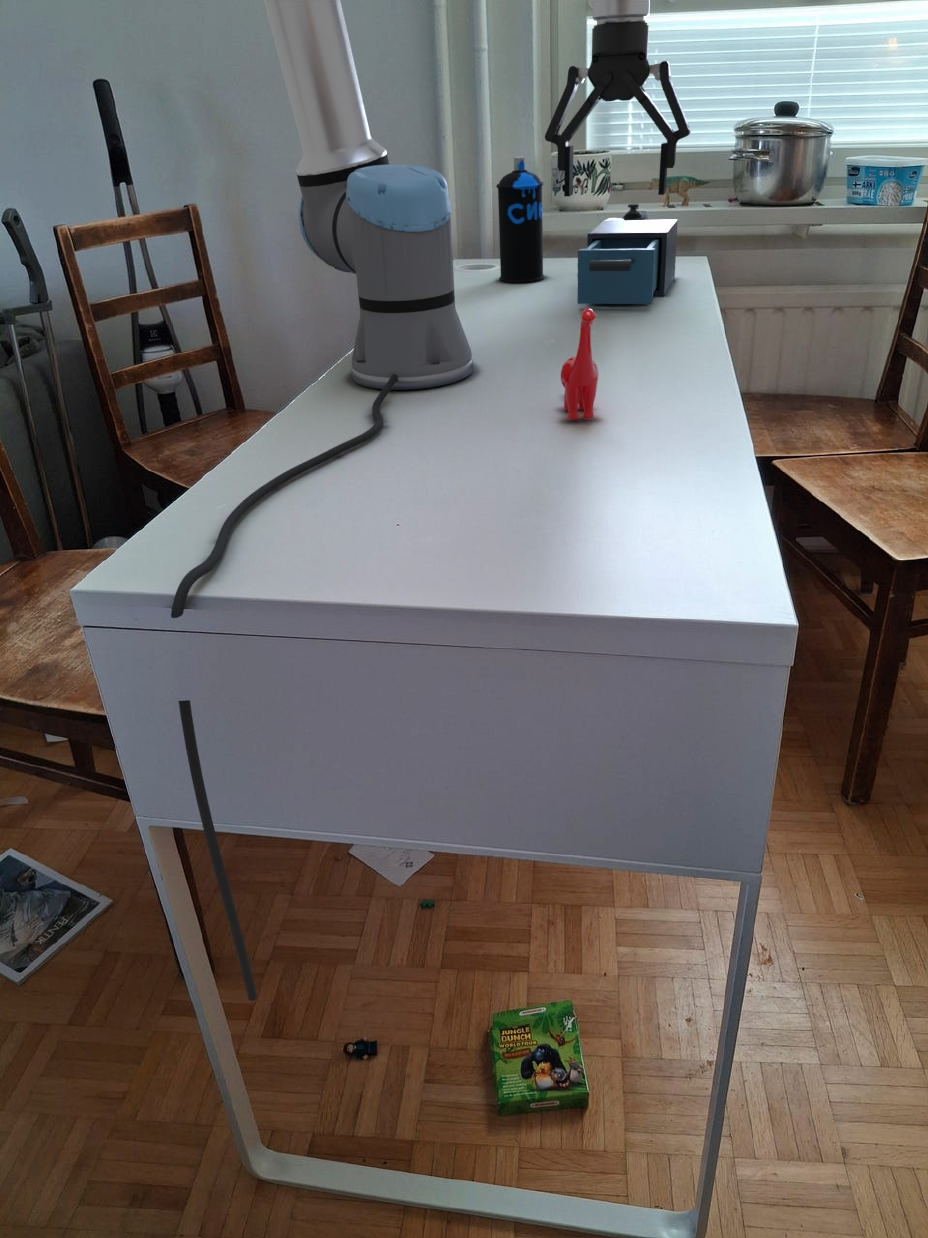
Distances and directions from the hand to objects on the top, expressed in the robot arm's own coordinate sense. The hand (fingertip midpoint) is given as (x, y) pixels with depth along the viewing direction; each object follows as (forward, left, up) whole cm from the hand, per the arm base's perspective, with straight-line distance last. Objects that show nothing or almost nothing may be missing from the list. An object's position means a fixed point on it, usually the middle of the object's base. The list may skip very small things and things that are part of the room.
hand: (614, 194), depth 136 cm
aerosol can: (+25, +21, -16) cm, 36 cm away
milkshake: (+32, +6, -16) cm, 36 cm away
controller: (+47, +4, -16) cm, 50 cm away
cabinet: (+18, 0, -16) cm, 24 cm away
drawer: (+4, 0, -15) cm, 16 cm away
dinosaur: (-52, -5, -16) cm, 55 cm away
